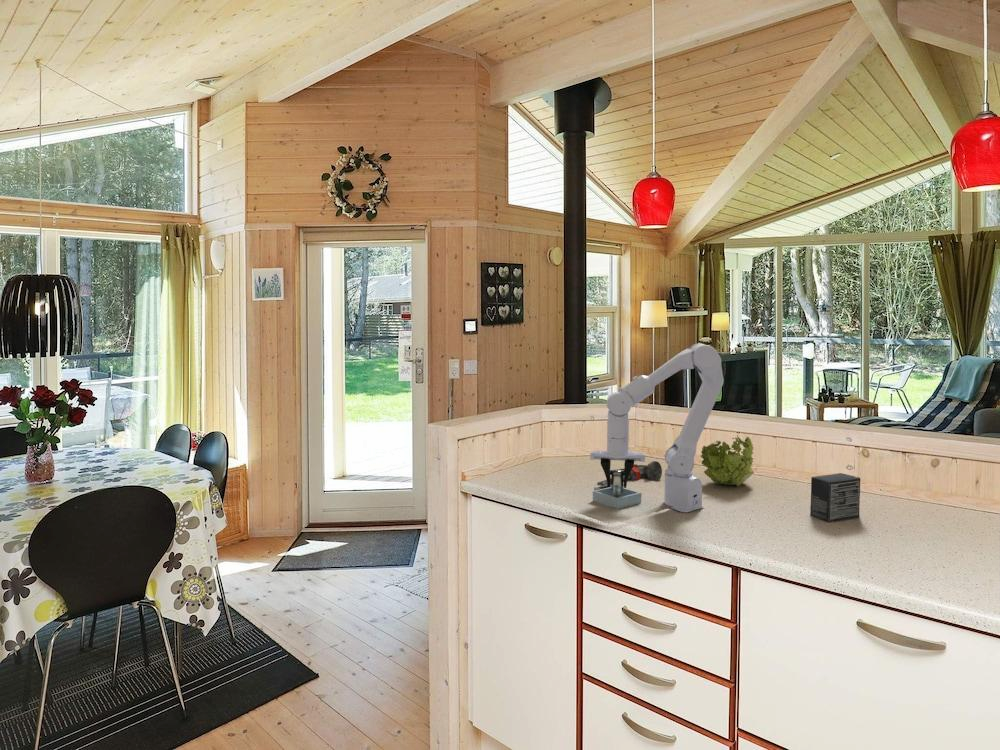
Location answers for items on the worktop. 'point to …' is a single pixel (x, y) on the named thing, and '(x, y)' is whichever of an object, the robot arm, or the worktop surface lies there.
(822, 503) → the small box
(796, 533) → the worktop surface
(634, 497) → the bin
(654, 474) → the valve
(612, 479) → the metal capped cylinder
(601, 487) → the plate
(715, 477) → the lettuce head
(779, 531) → the worktop surface
